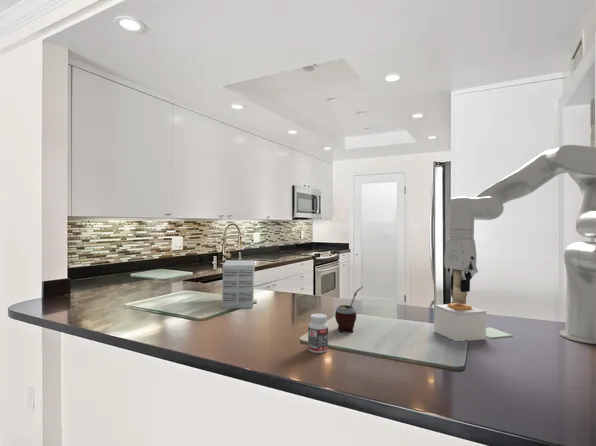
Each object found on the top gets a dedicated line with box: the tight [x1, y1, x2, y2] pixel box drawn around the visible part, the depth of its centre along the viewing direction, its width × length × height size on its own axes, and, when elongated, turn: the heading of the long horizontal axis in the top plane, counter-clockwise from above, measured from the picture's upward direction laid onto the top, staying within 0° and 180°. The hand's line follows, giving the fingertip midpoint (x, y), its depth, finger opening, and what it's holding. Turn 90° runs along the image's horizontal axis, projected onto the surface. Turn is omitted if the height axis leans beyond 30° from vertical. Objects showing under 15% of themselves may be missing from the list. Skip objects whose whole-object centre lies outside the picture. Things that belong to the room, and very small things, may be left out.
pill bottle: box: [307, 313, 329, 354], centre depth 105 cm, size 6×6×10 cm
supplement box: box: [221, 259, 255, 309], centre depth 160 cm, size 17×13×18 cm
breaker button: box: [447, 302, 473, 311], centre depth 120 cm, size 5×5×3 cm
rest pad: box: [486, 326, 513, 339], centre depth 123 cm, size 9×9×1 cm
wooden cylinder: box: [452, 269, 467, 305], centre depth 120 cm, size 4×4×11 cm
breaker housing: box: [433, 303, 487, 342], centre depth 120 cm, size 11×11×9 cm
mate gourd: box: [334, 286, 364, 334], centre depth 124 cm, size 8×8×15 cm
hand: (459, 289), depth 120 cm, fingers closed on wooden cylinder, 4 cm apart
